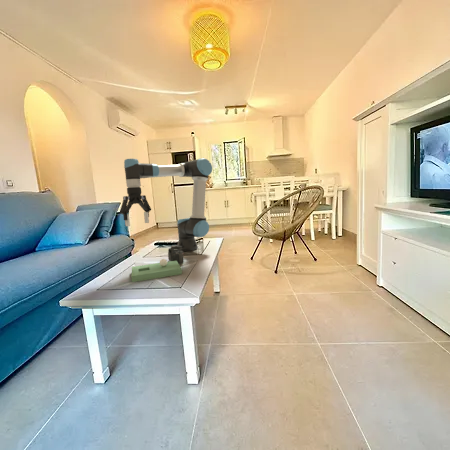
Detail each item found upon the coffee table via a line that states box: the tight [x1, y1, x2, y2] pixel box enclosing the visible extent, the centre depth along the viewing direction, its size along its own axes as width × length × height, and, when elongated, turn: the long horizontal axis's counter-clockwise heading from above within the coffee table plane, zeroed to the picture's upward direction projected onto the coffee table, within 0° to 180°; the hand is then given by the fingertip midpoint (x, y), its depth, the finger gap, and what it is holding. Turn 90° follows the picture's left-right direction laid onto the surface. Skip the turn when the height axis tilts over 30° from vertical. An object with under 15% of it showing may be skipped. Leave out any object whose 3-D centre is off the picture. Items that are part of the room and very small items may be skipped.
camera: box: [167, 245, 185, 265], centre depth 148 cm, size 13×10×10 cm
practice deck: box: [131, 261, 183, 283], centre depth 128 cm, size 24×17×3 cm
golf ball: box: [159, 258, 168, 267], centre depth 129 cm, size 4×4×4 cm
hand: (137, 224), depth 140 cm, fingers open, 13 cm apart
